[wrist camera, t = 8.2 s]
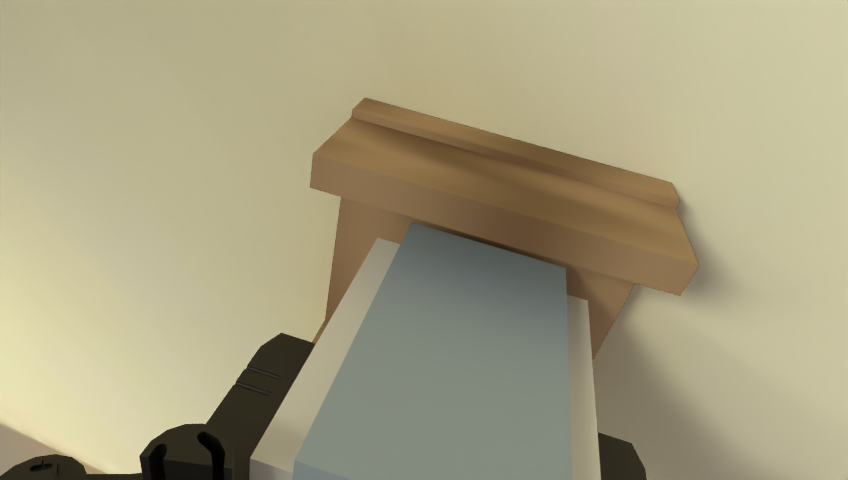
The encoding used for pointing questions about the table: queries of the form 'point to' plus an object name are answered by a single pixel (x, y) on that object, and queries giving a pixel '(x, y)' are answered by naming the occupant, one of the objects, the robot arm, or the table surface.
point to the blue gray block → (451, 372)
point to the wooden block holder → (500, 206)
